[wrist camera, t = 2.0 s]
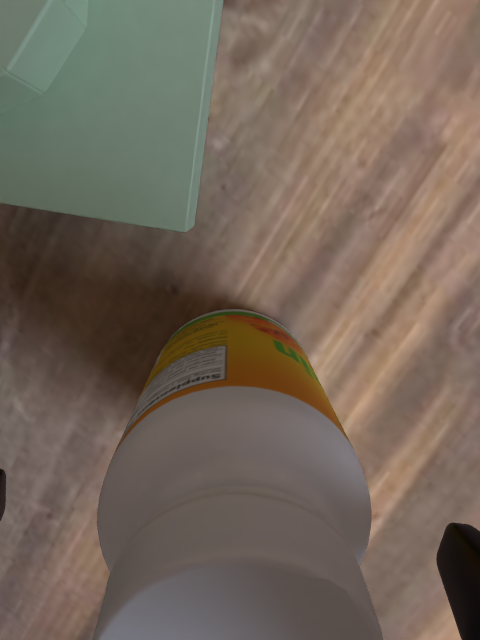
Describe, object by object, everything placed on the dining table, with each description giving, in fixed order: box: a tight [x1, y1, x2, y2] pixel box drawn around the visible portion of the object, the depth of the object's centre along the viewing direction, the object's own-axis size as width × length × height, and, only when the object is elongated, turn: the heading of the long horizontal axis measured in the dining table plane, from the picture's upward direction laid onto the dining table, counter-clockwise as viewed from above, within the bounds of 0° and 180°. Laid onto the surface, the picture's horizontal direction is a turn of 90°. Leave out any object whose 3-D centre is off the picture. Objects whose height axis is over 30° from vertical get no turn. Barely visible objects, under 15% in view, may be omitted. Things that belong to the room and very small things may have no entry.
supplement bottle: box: [93, 309, 383, 640], centre depth 10 cm, size 5×5×10 cm
